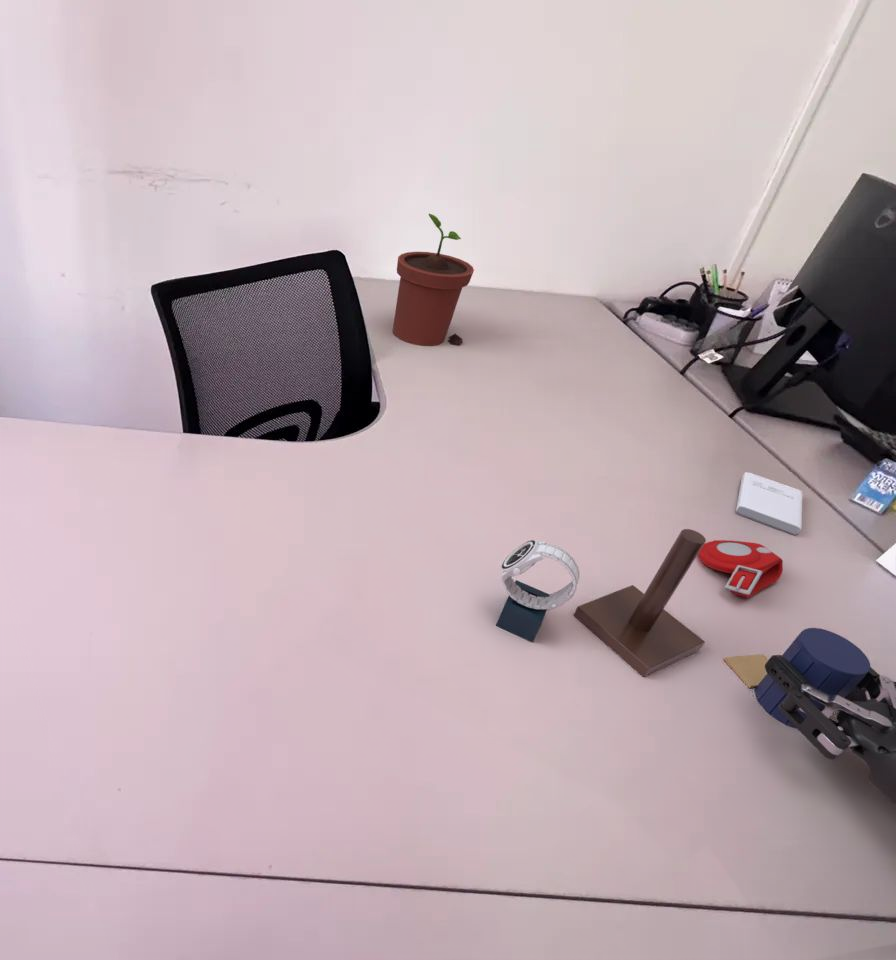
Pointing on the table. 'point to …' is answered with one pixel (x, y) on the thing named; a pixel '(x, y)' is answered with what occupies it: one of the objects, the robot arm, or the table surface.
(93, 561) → the table surface
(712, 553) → the tracker holder
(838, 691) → the cap
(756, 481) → the hard drive
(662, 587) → the stand
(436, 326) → the potted plant
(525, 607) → the watch
